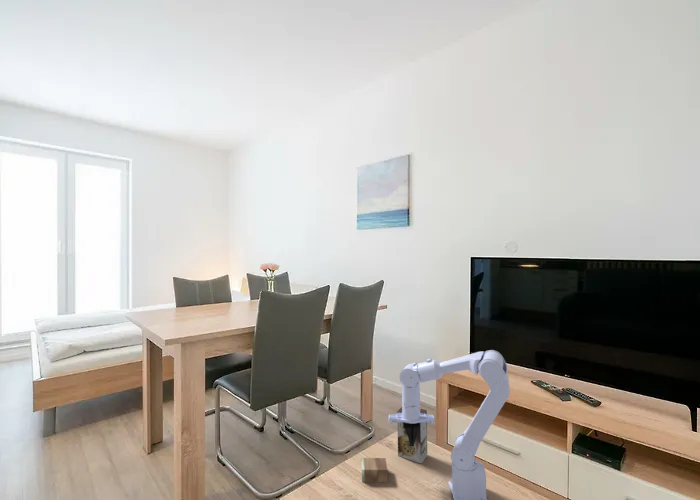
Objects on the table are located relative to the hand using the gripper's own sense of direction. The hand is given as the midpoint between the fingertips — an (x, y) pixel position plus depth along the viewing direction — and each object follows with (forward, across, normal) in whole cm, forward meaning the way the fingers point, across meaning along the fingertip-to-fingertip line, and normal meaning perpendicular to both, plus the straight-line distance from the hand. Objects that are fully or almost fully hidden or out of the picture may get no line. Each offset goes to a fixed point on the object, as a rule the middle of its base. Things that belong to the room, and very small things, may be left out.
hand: (411, 444), depth 111 cm
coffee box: (+11, -2, -11) cm, 15 cm away
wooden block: (+8, +8, 0) cm, 12 cm away
